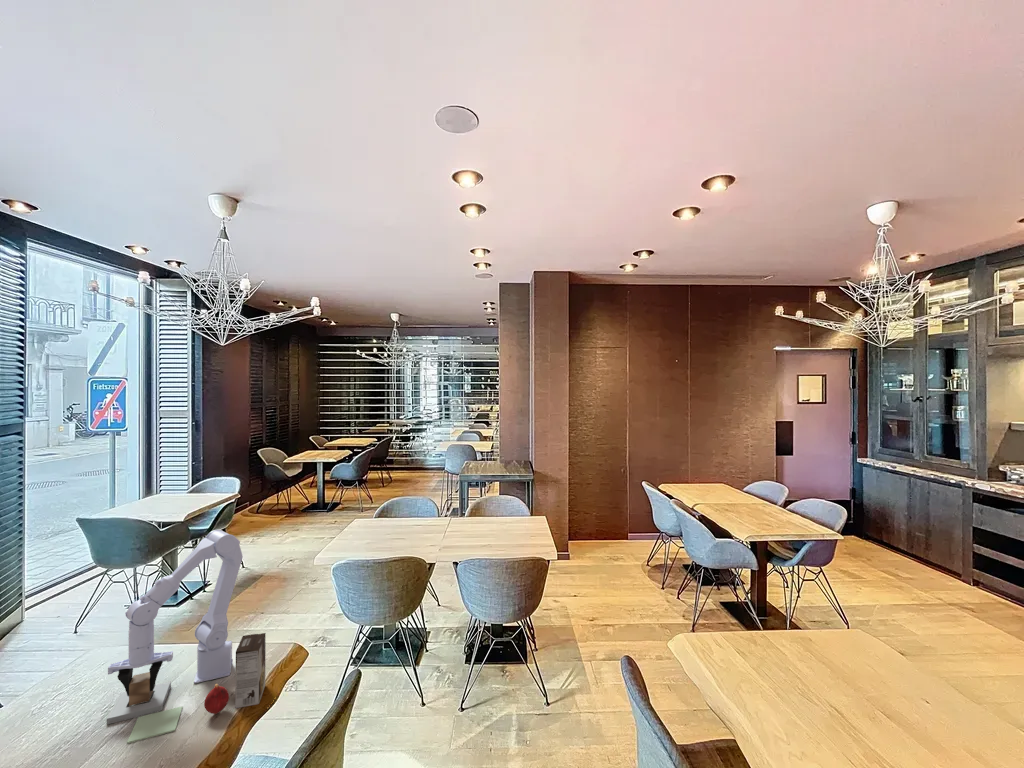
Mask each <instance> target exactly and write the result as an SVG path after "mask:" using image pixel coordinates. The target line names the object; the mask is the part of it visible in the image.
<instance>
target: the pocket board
mask: <svg viewBox="0 0 1024 768" xmlns="http://www.w3.org/2000/svg"><path fill="white" fill-rule="evenodd" d="M171 686H172V681H166V682H162V683H157V684H155V687H154V690H153V693H152V695H151V698H150V700H149V701H147V702H143V703H139V704H135V705H131V706H129V696H127V692H126V691H121V692H120V693H119V695H118V697H117V699H116V701H115V702H114V705H113V707H112V708H111V710H110V712H109V714H108V715H107V717H106V725H110V724H113V723H118V722H122V721H126V720H131V719H134V718H138V717H141V716H145V715H149V714H153V713H157V712H161V711H163V708H164V706H165V703H166V700H167V698H168V695H169V693H170V690H171V688H172V687H171Z"/></svg>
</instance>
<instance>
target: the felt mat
mask: <svg viewBox="0 0 1024 768" xmlns="http://www.w3.org/2000/svg"><path fill="white" fill-rule="evenodd" d="M182 710H183V706H178V707H174V708H169V709H166V710H162V711H159V712H155V713H151V714H147V715H143V716H139V717H137V719H136V722H135V724H134V726H133V728H132V731H131V733H130V735H129V737H128V739H127V741H126V744H131V743H134V742H139V741H143V740H146V739H150V738H153V737H154V738H155V737H157V736H161V735H164V734H169V733H173V732H176V729H177V726H178V723H179V719H180V718H181V717H180V716H181V714H182Z"/></svg>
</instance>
